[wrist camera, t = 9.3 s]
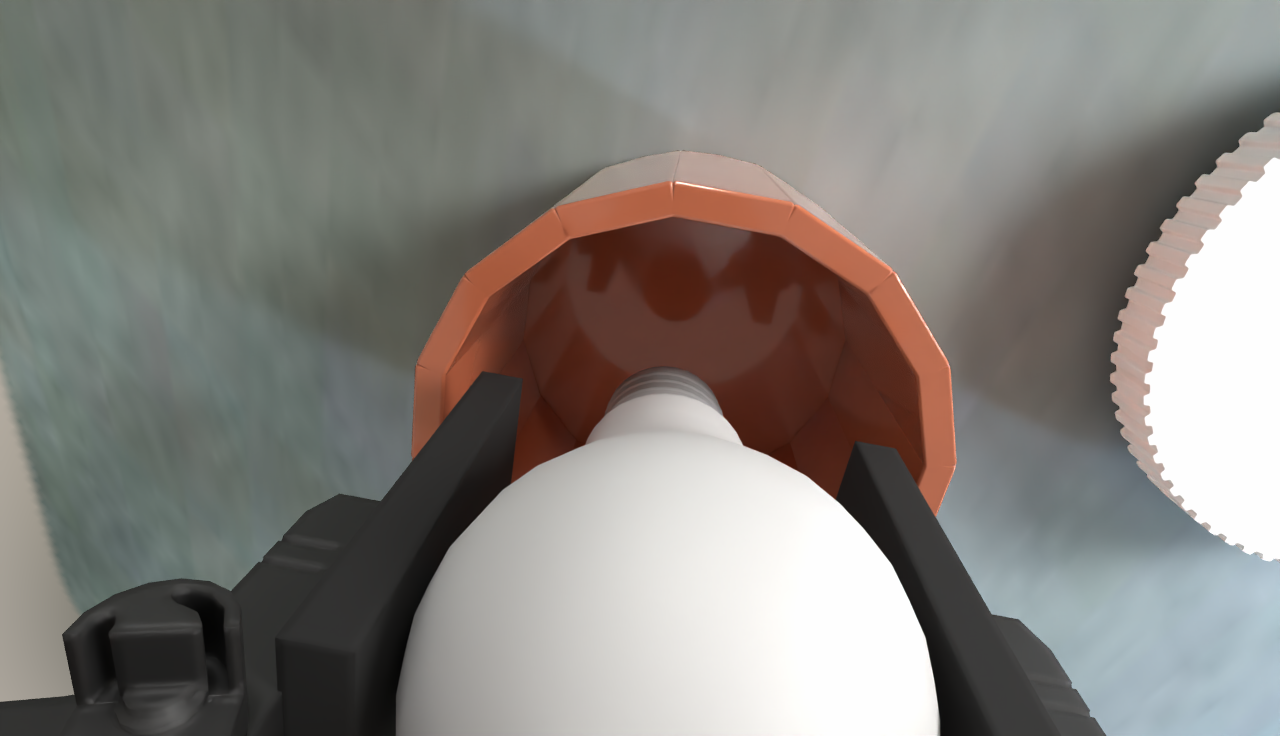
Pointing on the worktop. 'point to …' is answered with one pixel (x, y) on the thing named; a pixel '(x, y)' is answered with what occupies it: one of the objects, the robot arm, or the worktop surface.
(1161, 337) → the plastic lid
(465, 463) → the robot arm
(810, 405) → the holder
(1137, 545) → the worktop surface
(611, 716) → the lightbulb
